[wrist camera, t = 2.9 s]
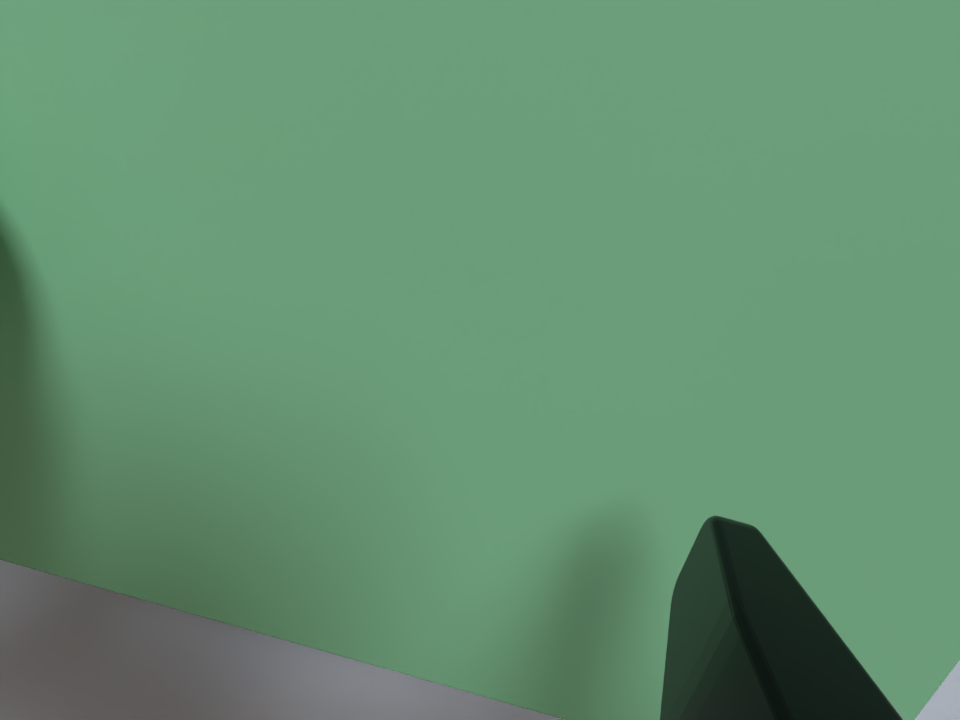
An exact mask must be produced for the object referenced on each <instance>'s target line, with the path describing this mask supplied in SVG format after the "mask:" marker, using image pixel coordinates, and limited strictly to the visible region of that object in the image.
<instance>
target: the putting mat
mask: <svg viewBox="0 0 960 720" xmlns="http://www.w3.org/2000/svg"><path fill="white" fill-rule="evenodd" d="M715 515H716V516H721V517H725V518H728V519H732V520H736V521H739V522H743V523H747V524H750V525H753V526H754V527H756V528H757V529H758V530H759V531H760V532H761V533H762V534H763V536H764V537H765V538H766V540H767V541H768V542H769V544H770V545H771V546H772V548H773V549H774V550H775V552H776V553H777V554H778V555H779V557H780V558H781V559H782V561H783V562H784V563H785V565H786V566H787V567H788V569H789V570H790V571H791V573H792V574H793V575H794V577H795V578H796V579H797V580H798V582H799V583H800V584H801V586H802V587H803V588H804V590H805V591H806V592H807V594H808V595H809V596H810V598H811V599H812V600H813V602H814V603H815V604H816V605H817V607H818V608H819V609H820V611H821V612H822V613H823V615H824V616H825V617H826V619H827V620H828V621H829V623H830V624H831V625H832V627H833V628H834V629H835V630H836V632H837V633H838V634H839V636H840V637H841V638H842V640H843V641H844V642H845V644H846V645H847V646H848V648H849V649H850V650H851V652H852V653H853V654H854V655H855V657H856V658H857V659H858V661H859V662H860V663H861V665H862V666H863V667H864V669H865V670H866V671H867V673H868V674H869V675H870V677H871V678H872V679H873V680H874V682H875V683H876V684H877V686H878V687H879V688H880V690H881V691H882V692H883V694H884V695H885V696H886V698H887V699H888V700H889V702H890V703H891V704H892V705H893V707H894V708H895V709H896V711H897V712H898V713H899V715H900V716H901V717H902V719H903V720H914V719H915V718H916V717H917V715H918V714H919V713H920V711H921V710H922V709H923V708H924V706H925V705H926V704H927V702H928V701H929V700H930V698H931V697H932V696H933V694H934V693H935V692H936V690H937V689H938V688H939V686H940V685H941V684H942V682H943V681H944V680H945V678H946V677H947V676H948V674H949V673H950V672H951V670H952V669H953V668H954V667H955V665H956V664H957V663H958V661H959V660H960V0H0V560H4V561H7V562H11V563H14V564H18V565H21V566H25V567H29V568H32V569H36V570H39V571H43V572H46V573H50V574H53V575H57V576H60V577H64V578H67V579H71V580H74V581H78V582H82V583H85V584H89V585H92V586H96V587H99V588H103V589H106V590H110V591H113V592H117V593H120V594H124V595H127V596H131V597H135V598H138V599H142V600H145V601H149V602H152V603H156V604H159V605H163V606H166V607H170V608H173V609H177V610H180V611H184V612H187V613H191V614H195V615H198V616H202V617H205V618H209V619H212V620H216V621H219V622H223V623H226V624H230V625H233V626H237V627H240V628H244V629H248V630H251V631H255V632H258V633H262V634H265V635H269V636H272V637H276V638H279V639H283V640H286V641H290V642H293V643H297V644H300V645H304V646H308V647H311V648H315V649H318V650H322V651H325V652H329V653H332V654H336V655H339V656H343V657H346V658H350V659H353V660H357V661H361V662H364V663H368V664H371V665H375V666H378V667H382V668H385V669H389V670H392V671H396V672H399V673H403V674H406V675H410V676H414V677H417V678H421V679H424V680H428V681H431V682H435V683H438V684H442V685H445V686H449V687H452V688H456V689H459V690H463V691H466V692H470V693H474V694H477V695H481V696H484V697H488V698H491V699H495V700H498V701H502V702H505V703H509V704H512V705H516V706H519V707H523V708H527V709H530V710H534V711H537V712H541V713H544V714H548V715H551V716H555V717H558V718H562V719H565V720H660V713H661V702H662V692H663V681H664V671H665V660H666V650H667V639H668V628H669V618H670V607H671V600H672V595H673V591H674V587H675V584H676V581H677V578H678V576H679V574H680V572H681V570H682V567H683V565H684V563H685V561H686V559H687V557H688V555H689V552H690V550H691V548H692V546H693V544H694V542H695V540H696V537H697V535H698V533H699V531H700V529H701V527H702V525H703V523H704V522H705V521H706V520H707V519H708V518H709V517H711V516H715Z"/></svg>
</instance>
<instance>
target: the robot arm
mask: <svg viewBox="0 0 960 720" xmlns="http://www.w3.org/2000/svg"><path fill="white" fill-rule="evenodd" d="M660 720H903V719H902V717H901V716H900V715H899V713H898V712H897V711H896V709H895V708H894V707H893V705H892V704H891V703H890V702H889V700H888V699H887V698H886V696H885V695H884V694H883V692H882V691H881V690H880V688H879V687H878V686H877V684H876V683H875V682H874V680H873V679H872V678H871V677H870V675H869V674H868V673H867V671H866V670H865V669H864V667H863V666H862V665H861V663H860V662H859V661H858V659H857V658H856V657H855V655H854V654H853V653H852V652H851V650H850V649H849V648H848V646H847V645H846V644H845V642H844V641H843V640H842V638H841V637H840V636H839V634H838V633H837V632H836V630H835V629H834V628H833V627H832V625H831V624H830V623H829V621H828V620H827V619H826V617H825V616H824V615H823V613H822V612H821V611H820V609H819V608H818V607H817V605H816V604H815V603H814V602H813V600H812V599H811V598H810V596H809V595H808V594H807V592H806V591H805V590H804V588H803V587H802V586H801V584H800V583H799V582H798V580H797V579H796V578H795V577H794V575H793V574H792V573H791V571H790V570H789V569H788V567H787V566H786V565H785V563H784V562H783V561H782V559H781V558H780V557H779V555H778V554H777V553H776V552H775V550H774V549H773V548H772V546H771V545H770V544H769V542H768V541H767V540H766V538H765V537H764V536H763V534H762V533H761V532H760V531H759V530H758V529H757V528H756V527H754V526H753V525H750V524H747V523H743V522H739V521H736V520H732V519H728V518H725V517H721V516H716V515H715V516H711V517H709V518H708V519H707V520H706V521H705V522H704V523H703V525H702V527H701V529H700V531H699V533H698V535H697V537H696V540H695V542H694V544H693V546H692V548H691V550H690V552H689V555H688V557H687V559H686V561H685V563H684V565H683V567H682V570H681V572H680V574H679V576H678V578H677V581H676V584H675V587H674V591H673V595H672V600H671V607H670V618H669V628H668V639H667V650H666V660H665V671H664V681H663V692H662V702H661V713H660Z"/></svg>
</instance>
